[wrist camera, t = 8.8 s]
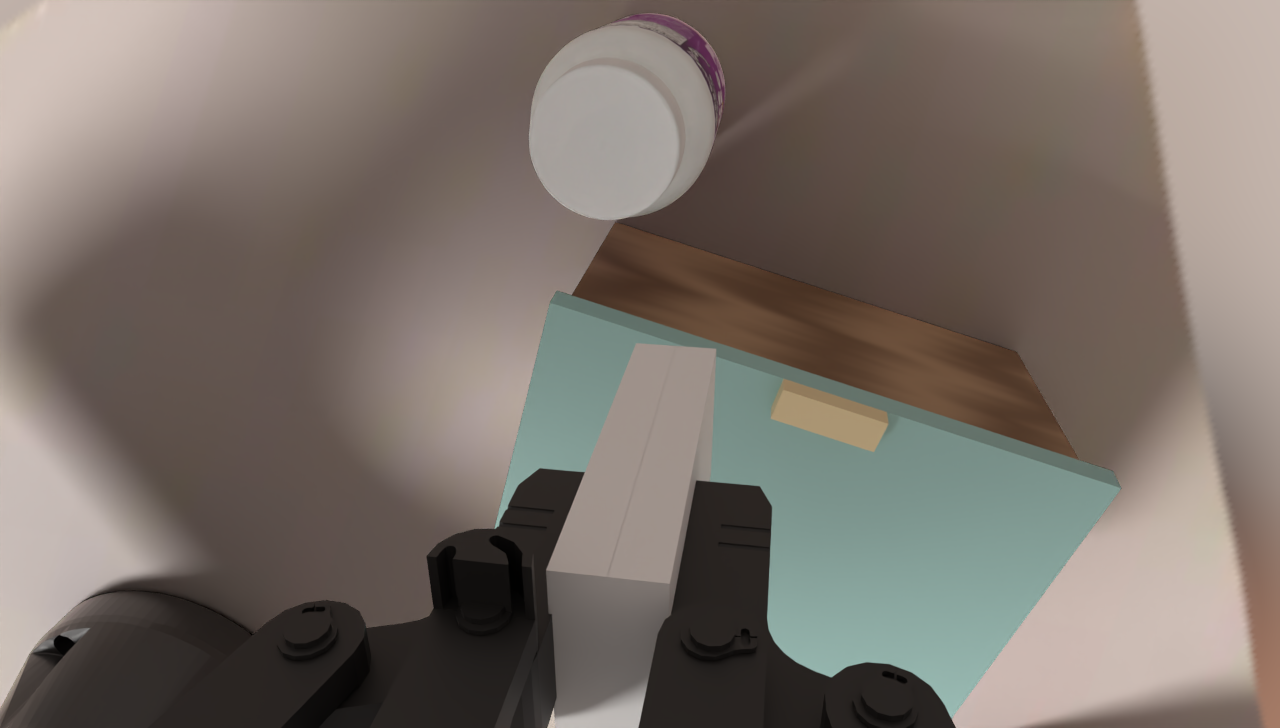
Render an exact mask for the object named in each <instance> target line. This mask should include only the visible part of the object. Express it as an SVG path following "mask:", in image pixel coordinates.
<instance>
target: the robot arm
mask: <svg viewBox="0 0 1280 728" xmlns="http://www.w3.org/2000/svg"><path fill="white" fill-rule="evenodd" d="M715 368H716V349H713V348H698V347H684V346H669V345H655V344H641V343H636V345H635V347H634V350H633V352H632V355H631V357H630V360H629V362H628V365H627V367H626V370H625V372H624V375H623V377H622V380H621V383H620V385H619V388H618V390H617V393H616V395H615V398H614V400H613V403H612V405H611V408H610V410H609V413H608V415H607V418H606V420H605V423H604V425H603V428H602V430H601V433H600V436H599V438H598V441H597V443H596V446H595V448H594V451H593V453H592V456H591V458H590V461H589V463H588V466H587V468H586V471H585V472H576V471H565V470H554V469H543V468H539V469H538V470H537V471H535V472H534V473H533V474H532V475H530V476H529V477H528V478H526V479H525V480H524V481H523V482H521V483H520V484H519V485H518V486H517V488H516V490H515V492H514V494H513V496H512V498H511V500H510V502H509V504H508V509H507V510H505V512H504V514H503V516H502V518H501V520H500V522H499V527H498V526H497V528H496V529H474V530H470V531H466V532H462V533H458V534H455V535H453V536H451V537H449V538H448V539H446V540H444V541H442V542H440V543H439V544H437V545H436V547H435V548H434V549H433V550H432V551H431V552H430V553H429V554H428V555H427V562H428V570H429V577H430V585H431V592H432V600H433V607H434V609H433V611H432V612H431V614H430V616H429V617H426V618H424V619H421V620H417V621H413V622H408V623H403V624H395V625H387V626H379V627H372V628H366V624H365V622H364V620H363V618H362V616H361V614H360V612H359V611H358V610H356V609H355V608H353V607H351V606H349V605H348V604H346V603H341V602H335V601H328V600H326V601H318V602H310V603H304V604H302V605H299V606H296V607H294V608H291V609H288V610H285V611H284V612H282V613H281V614H279V615H278V616H276V617H275V618H273V619H272V620H270V621H269V622H267V623H266V624H265V625H264V626H263V627H262V628H260V629H259V630H258V631H257V632H256V633H255V634H254V635H251V634H250V633H248V632H247V631H246V630H244V629H243V628H241V627H240V626H238V625H237V624H235V623H233V622H232V621H230V620H229V619H227V618H225V617H223V616H221V615H219V614H218V613H216V612H214V611H211V610H209V609H207V608H205V607H203V606H200V605H198V604H195V603H192V602H189V601H187V600H183V599H180V598H177V597H173V596H169V595H164V594H159V593H152V592H143V591H121V592H113V593H107V594H103V595H99V596H96V597H93V598H90V599H88V600H86V601H84V602H82V603H80V604H79V605H77V606H76V607H74V608H73V609H72V610H71V611H70V612H69V613H68V614H66V615H65V616H64V617H63V618H62V619H61V620H60V621H59V622H58V623H57V624H56V625H55V626H54V627H53V628H52V629H51V630H50V631H49V632H47V633H46V634H45V635H44V636H43V637H42V638H41V639H40V641H39V642H38V643H37V644H36V646H35V647H34V648H33V650H32V651H31V653H30V654H29V656H28V658H27V660H26V662H25V663H24V665H23V667H22V669H21V671H20V673H19V675H18V676H17V678H16V680H15V682H14V684H13V686H12V688H11V689H10V691H9V693H8V695H7V697H6V699H5V701H4V702H3V704H2V706H1V708H0V728H547V727H548V724H549V720H550V717H551V714H552V711H553V708H554V713H555V728H956V727H955V725H954V723H953V721H952V719H951V717H950V715H949V713H948V711H947V709H946V707H945V705H944V703H943V702H942V700H941V699H940V698H939V696H938V695H937V694H936V692H935V691H934V690H933V688H932V687H931V686H930V685H929V684H927V683H926V682H925V681H923V680H922V679H920V678H919V677H918V676H916V675H915V674H913V673H912V672H909V671H907V670H904V669H901V668H899V667H896V666H893V665H891V664H883V663H871V662H865V663H861V664H856V665H852V666H847V667H846V668H844V669H843V670H841V671H840V672H838V673H837V674H836V675H834V676H833V677H832V678H831V677H829V676H826V675H824V674H821V673H818V672H816V671H813V670H811V669H809V668H807V667H805V666H803V665H801V664H799V663H797V662H795V661H794V660H793V659H791V658H790V657H789V656H787V655H786V654H785V653H784V652H783V651H782V650H781V649H780V648H779V647H778V645H777V644H776V643H775V642H774V640H773V638H772V636H771V634H770V632H769V628H768V621H767V612H768V590H769V568H770V546H771V525H772V505H771V504H770V502H769V501H768V499H767V497H766V496H765V494H764V492H763V491H762V489H761V487H760V486H753V485H742V484H731V483H720V482H710V476H711V460H712V437H713V414H714V391H715Z"/></svg>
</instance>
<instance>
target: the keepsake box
mask: <svg viewBox="0 0 1280 728" xmlns="http://www.w3.org/2000/svg"><path fill="white" fill-rule="evenodd" d="M572 296H575V297H578V298H581V299H584V300H588V301H591V302H594V303H597V304H600V305H603V306H606V307H609V308H612V309H615V310H618V311H621V312H624V313H628V314H631V315H634V316H637V317H640V318H643V319H646V320H649V321H652V322H655V323H658V324H661V325H665V326H668V327H671V328H674V329H677V330H680V331H683V332H686V333H689V334H692V335H695V336H698V337H701V338H705V339H708V340H711V341H714V342H717V343H720V344H723V345H726V346H729V347H732V348H735V349H738V350H742V351H745V352H748V353H751V354H754V355H757V356H760V357H763V358H766V359H769V360H772V361H775V362H778V363H782V364H785V365H788V366H791V367H794V368H797V369H800V370H803V371H806V372H809V373H812V374H815V375H819V376H822V377H825V378H828V379H831V380H834V381H837V382H840V383H843V384H846V385H849V386H852V387H855V388H859V389H862V390H865V391H868V392H871V393H874V394H877V395H880V396H883V397H886V398H889V399H892V400H896V401H899V402H902V403H905V404H908V405H911V406H914V407H917V408H920V409H923V410H926V411H929V412H932V413H936V414H939V415H942V416H945V417H948V418H951V419H954V420H957V421H960V422H963V423H966V424H969V425H973V426H976V427H979V428H982V429H985V430H988V431H991V432H994V433H997V434H1000V435H1003V436H1006V437H1009V438H1013V439H1016V440H1019V441H1022V442H1025V443H1028V444H1031V445H1034V446H1037V447H1040V448H1043V449H1046V450H1050V451H1053V452H1056V453H1059V454H1062V455H1065V456H1068V457H1071V458H1074V459H1077V460H1079V459H1078V457H1077V456H1076V454H1075V452H1074V450H1073V449H1072V447H1071V445H1070V443H1069V442H1068V440H1067V438H1066V436H1065V435H1064V433H1063V431H1062V430H1061V428H1060V426H1059V424H1058V423H1057V421H1056V419H1055V417H1054V416H1053V414H1052V412H1051V410H1050V409H1049V407H1048V405H1047V403H1046V402H1045V400H1044V398H1043V397H1042V395H1041V393H1040V391H1039V390H1038V388H1037V386H1036V384H1035V383H1034V381H1033V379H1032V377H1031V376H1030V374H1029V372H1028V370H1027V369H1026V367H1025V365H1024V364H1023V362H1022V360H1021V358H1020V357H1019V355H1018V353H1017V352H1015V351H1012V350H1009V349H1006V348H1003V347H1000V346H997V345H994V344H990V343H987V342H984V341H981V340H978V339H975V338H972V337H969V336H966V335H963V334H960V333H956V332H953V331H950V330H947V329H944V328H941V327H938V326H935V325H932V324H929V323H926V322H923V321H919V320H916V319H913V318H910V317H907V316H904V315H901V314H898V313H895V312H892V311H889V310H886V309H882V308H879V307H876V306H873V305H870V304H867V303H864V302H861V301H858V300H855V299H852V298H849V297H845V296H842V295H839V294H836V293H833V292H830V291H827V290H824V289H821V288H818V287H815V286H812V285H808V284H805V283H802V282H799V281H796V280H793V279H790V278H787V277H784V276H781V275H778V274H775V273H771V272H768V271H765V270H762V269H759V268H756V267H753V266H750V265H747V264H744V263H741V262H738V261H734V260H731V259H728V258H725V257H722V256H719V255H716V254H713V253H710V252H707V251H704V250H700V249H697V248H694V247H691V246H688V245H685V244H682V243H679V242H676V241H673V240H670V239H667V238H663V237H660V236H657V235H654V234H651V233H648V232H645V231H642V230H639V229H636V228H633V227H630V226H626V225H623V224H620V223H617V222H615V223H614V225H613V227H612V228H611V230H610V232H609V233H608V235H607V237H606V239H605V240H604V242H603V244H602V245H601V247H600V249H599V250H598V252H597V254H596V255H595V257H594V259H593V260H592V262H591V264H590V266H589V267H588V269H587V271H586V272H585V274H584V276H583V277H582V279H581V281H580V282H579V284H578V286H577V287H576V289H575V291H574V292H573V294H572Z"/></svg>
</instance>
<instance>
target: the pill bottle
mask: <svg viewBox="0 0 1280 728" xmlns="http://www.w3.org/2000/svg"><path fill="white" fill-rule="evenodd" d="M724 104H725V80H724V75H723V71H722V67H721V65H720V62H719V59H718V57H717V55H716V53H715V51H714V50H713V48H712V47H711V45H710V44H709V43H708V41H707V40H706V39H705V38H704V37H703V36H702V35H701V34H700V33H699V32H698V31H697V30H695V29H694V28H693V27H691V26H690V25H688V24H687V23H685V22H683V21H681V20H679V19H677V18H674V17H672V16H668V15H664V14H656V13H643V14H636V15H631V16H627V17H624V18H622V19H619V20H617V21H615V22H612V23H610V24H607V25H604V26H602V27H600V28H597V29H595V30H592V31H588V32H586V33H584V34H582V35H580V36H578V37H577V38H575V39H574V40H572V41H571V42H569V43H568V44H567V45H565V46H564V47H563V48H562V49H561V50H560V51H559V52H558V53H557V54H556V55H555V56H554V57H553V59H552V60H551V61H550V62H549V63H548V65H547V66H546V68H545V70H544V71H543V73H542V75H541V77H540V79H539V81H538V83H537V86H536V89H535V92H534V96H533V100H532V105H531V115H530V128H529V149H530V156H531V160H532V164H533V166H534V169H535V171H536V174H537V176H538V178H539V179H540V181H541V183H542V184H543V186H544V187H545V189H546V190H547V191H548V192H549V193H550V195H551V196H552V197H553V198H555V199H556V200H557V201H558V202H559V203H560V204H562V205H563V206H564V207H566V208H567V209H569V210H571V211H573V212H575V213H577V214H580V215H582V216H585V217H588V218H592V219H597V220H618V219H623V218H627V217H637V216H642V215H646V214H650V213H653V212H656V211H658V210H660V209H663V208H664V207H666V206H668V205H670V204H671V203H673V202H674V201H676V200H677V199H678V198H679V197H681V196H682V195H683V194H684V193H685V192H686V191H687V190H688V189H689V188H690V187H691V186H692V185H693V184H694V182H695V181H696V180H697V178H698V177H699V175H700V174H701V172H702V170H703V169H704V167H705V165H706V163H707V160H708V158H709V155H710V153H711V150H712V147H713V144H714V141H715V138H716V134H717V131H718V128H719V124H720V121H721V117H722V114H723V110H724Z"/></svg>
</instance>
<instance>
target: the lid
mask: <svg viewBox="0 0 1280 728" xmlns="http://www.w3.org/2000/svg"><path fill="white" fill-rule="evenodd" d="M636 343H641V344H655V345H669V346H684V347H698V348H713V349H716V368H715V391H714V414H713V437H712V460H711V476H710V482H720V483H731V484H742V485H753V486H760V487H761V489H762V491H763V492H764V494H765V496H766V497H767V499H768V501H769V502H770V504H771V505H772V525H771V546H770V568H769V590H768V612H767V621H768V628H769V632H770V634H771V636H772V638H773V640H774V642H775V643H776V644H777V645H778V647H779V648H780V649H781V650H782V651H783V652H784V653H785V654H786V655H787V656H789V657H790V658H791V659H793V660H794V661H795V662H797V663H799V664H801V665H803V666H805V667H807V668H809V669H811V670H813V671H816V672H818V673H821V674H824V675H826V676H829V677H831V678H832V677H833V676H834V675H836V674H837V673H838V672H840V671H841V670H843V669H844V668H846V667H847V666H852V665H856V664H861V663H865V662H871V663H883V664H891V665H893V666H896V667H899V668H901V669H904V670H907V671H909V672H912V673H913V674H915V675H916V676H918V677H919V678H920V679H922V680H923V681H925V682H926V683H927V684H929V685H930V686H931V687H932V688H933V690H934V691H935V692H936V694H937V695H938V696H939V698H940V699H941V700H942V702H943V703H944V705H945V707H946V709H947V711H948V713H949V715H950V717H951V718H952V717H953V716H954V714H955V713H956V712H957V710H958V709H959V708H960V706H961V705H962V704H963V702H964V701H965V699H966V698H967V697H968V695H969V694H970V693H971V691H972V690H973V689H974V687H975V686H976V685H977V683H978V682H979V681H980V679H981V678H982V676H983V675H984V674H985V672H986V671H987V670H988V668H989V667H990V666H991V664H992V663H993V662H994V660H995V659H996V657H997V656H998V655H999V653H1000V652H1001V651H1002V649H1003V648H1004V647H1005V645H1006V644H1007V643H1008V641H1009V640H1010V639H1011V637H1012V636H1013V634H1014V633H1015V632H1016V630H1017V629H1018V628H1019V626H1020V625H1021V624H1022V622H1023V621H1024V620H1025V618H1026V617H1027V616H1028V614H1029V613H1030V611H1031V610H1032V609H1033V607H1034V606H1035V605H1036V603H1037V602H1038V601H1039V599H1040V598H1041V597H1042V595H1043V594H1044V593H1045V591H1046V590H1047V588H1048V587H1049V586H1050V584H1051V583H1052V582H1053V580H1054V579H1055V578H1056V576H1057V575H1058V574H1059V572H1060V571H1061V570H1062V568H1063V567H1064V565H1065V564H1066V563H1067V561H1068V560H1069V559H1070V557H1071V556H1072V555H1073V553H1074V552H1075V551H1076V549H1077V548H1078V546H1079V545H1080V544H1081V542H1082V541H1083V540H1084V538H1085V537H1086V536H1087V534H1088V533H1089V532H1090V530H1091V529H1092V528H1093V526H1094V525H1095V523H1096V522H1097V521H1098V519H1099V518H1100V517H1101V515H1102V514H1103V513H1104V511H1105V510H1106V509H1107V507H1108V506H1109V505H1110V503H1111V502H1112V500H1113V499H1114V498H1115V496H1116V495H1117V494H1118V492H1119V491H1120V490H1121V486H1120V484H1119V482H1118V480H1117V478H1116V476H1115V474H1114V472H1113V471H1111V470H1108V469H1105V468H1102V467H1099V466H1096V465H1093V464H1090V463H1086V462H1083V461H1080V460H1077V459H1074V458H1071V457H1068V456H1065V455H1062V454H1059V453H1056V452H1053V451H1050V450H1046V449H1043V448H1040V447H1037V446H1034V445H1031V444H1028V443H1025V442H1022V441H1019V440H1016V439H1013V438H1009V437H1006V436H1003V435H1000V434H997V433H994V432H991V431H988V430H985V429H982V428H979V427H976V426H973V425H969V424H966V423H963V422H960V421H957V420H954V419H951V418H948V417H945V416H942V415H939V414H936V413H932V412H929V411H926V410H923V409H920V408H917V407H914V406H911V405H908V404H905V403H902V402H899V401H896V400H892V399H889V398H886V397H883V396H880V395H877V394H874V393H871V392H868V391H865V390H862V389H859V388H855V387H852V386H849V385H846V384H843V383H840V382H837V381H834V380H831V379H828V378H825V377H822V376H819V375H815V374H812V373H809V372H806V371H803V370H800V369H797V368H794V367H791V366H788V365H785V364H782V363H778V362H775V361H772V360H769V359H766V358H763V357H760V356H757V355H754V354H751V353H748V352H745V351H742V350H738V349H735V348H732V347H729V346H726V345H723V344H720V343H717V342H714V341H711V340H708V339H705V338H701V337H698V336H695V335H692V334H689V333H686V332H683V331H680V330H677V329H674V328H671V327H668V326H665V325H661V324H658V323H655V322H652V321H649V320H646V319H643V318H640V317H637V316H634V315H631V314H628V313H624V312H621V311H618V310H615V309H612V308H609V307H606V306H603V305H600V304H597V303H594V302H591V301H588V300H584V299H581V298H578V297H575V296H572V295H569V294H566V293H563V292H560V291H556V293H555V295H554V297H553V298H552V300H551V302H550V304H549V308H548V313H547V317H546V321H545V325H544V329H543V333H542V337H541V341H540V345H539V349H538V353H537V357H536V361H535V365H534V370H533V374H532V378H531V382H530V386H529V390H528V394H527V398H526V402H525V406H524V410H523V414H522V418H521V422H520V427H519V431H518V435H517V439H516V443H515V447H514V451H513V455H512V459H511V463H510V467H509V471H508V475H507V480H506V484H505V488H504V492H503V496H502V500H501V504H500V508H499V512H498V516H497V520H496V524H495V528H494V529H496V528H497V526H498V527H499V522H500V520H501V518H502V516H503V514H504V512H505V510H507V509H508V504H509V502H510V500H511V498H512V496H513V494H514V492H515V490H516V488H517V486H518V485H519V484H520V483H521V482H523V481H524V480H525V479H526V478H528V477H529V476H530V475H532V474H533V473H534V472H535V471H537V470H538V469H539V468H543V469H554V470H565V471H576V472H585V471H586V468H587V466H588V463H589V461H590V458H591V456H592V453H593V451H594V448H595V446H596V443H597V441H598V438H599V436H600V433H601V430H602V428H603V425H604V423H605V420H606V418H607V415H608V413H609V410H610V408H611V405H612V403H613V400H614V398H615V395H616V393H617V390H618V388H619V385H620V383H621V380H622V377H623V375H624V372H625V370H626V367H627V365H628V362H629V360H630V357H631V355H632V352H633V350H634V347H635V345H636Z"/></svg>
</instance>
